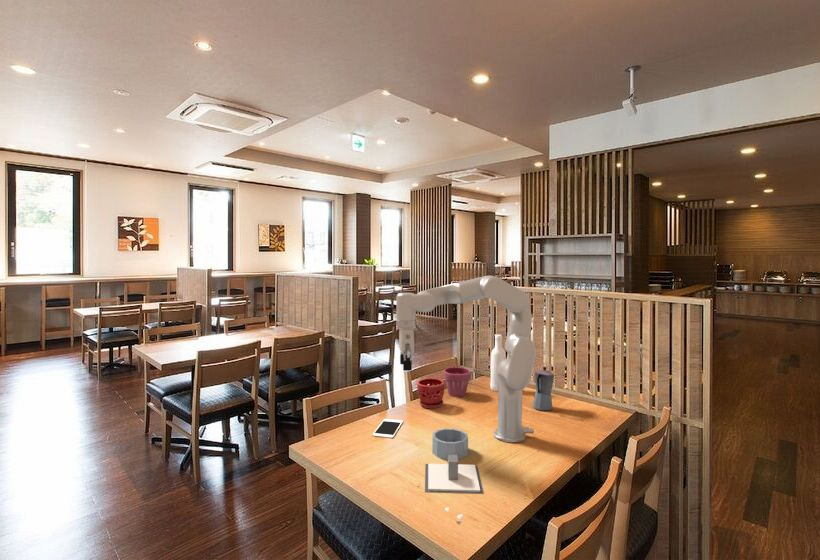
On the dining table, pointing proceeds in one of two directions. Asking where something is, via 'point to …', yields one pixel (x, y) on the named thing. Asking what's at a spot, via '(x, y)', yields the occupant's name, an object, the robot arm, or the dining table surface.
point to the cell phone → (388, 428)
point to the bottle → (496, 361)
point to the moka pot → (543, 389)
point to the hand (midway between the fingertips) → (405, 367)
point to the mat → (452, 491)
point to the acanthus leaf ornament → (457, 516)
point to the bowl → (449, 443)
